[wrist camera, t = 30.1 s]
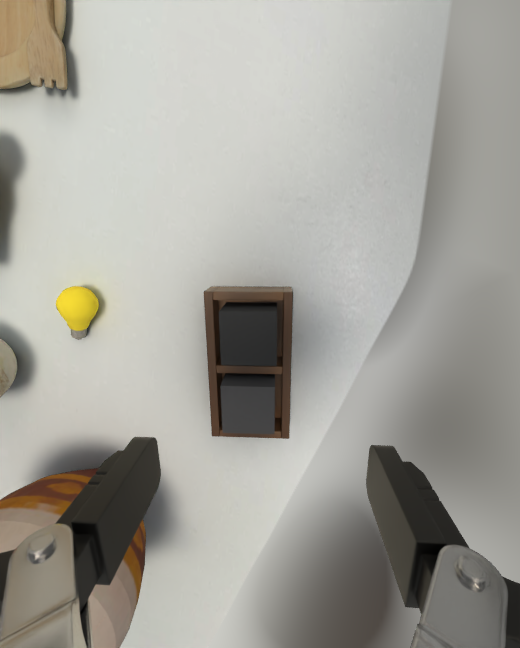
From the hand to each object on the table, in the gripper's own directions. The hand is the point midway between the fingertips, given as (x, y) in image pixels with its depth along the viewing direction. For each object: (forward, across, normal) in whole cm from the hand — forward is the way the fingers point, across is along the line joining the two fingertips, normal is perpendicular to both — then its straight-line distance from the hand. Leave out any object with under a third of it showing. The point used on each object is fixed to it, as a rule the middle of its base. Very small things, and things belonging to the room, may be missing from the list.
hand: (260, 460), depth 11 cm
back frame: (+19, +2, +4) cm, 20 cm away
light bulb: (+19, +19, -1) cm, 27 cm away
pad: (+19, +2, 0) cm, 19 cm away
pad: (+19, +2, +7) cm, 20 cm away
